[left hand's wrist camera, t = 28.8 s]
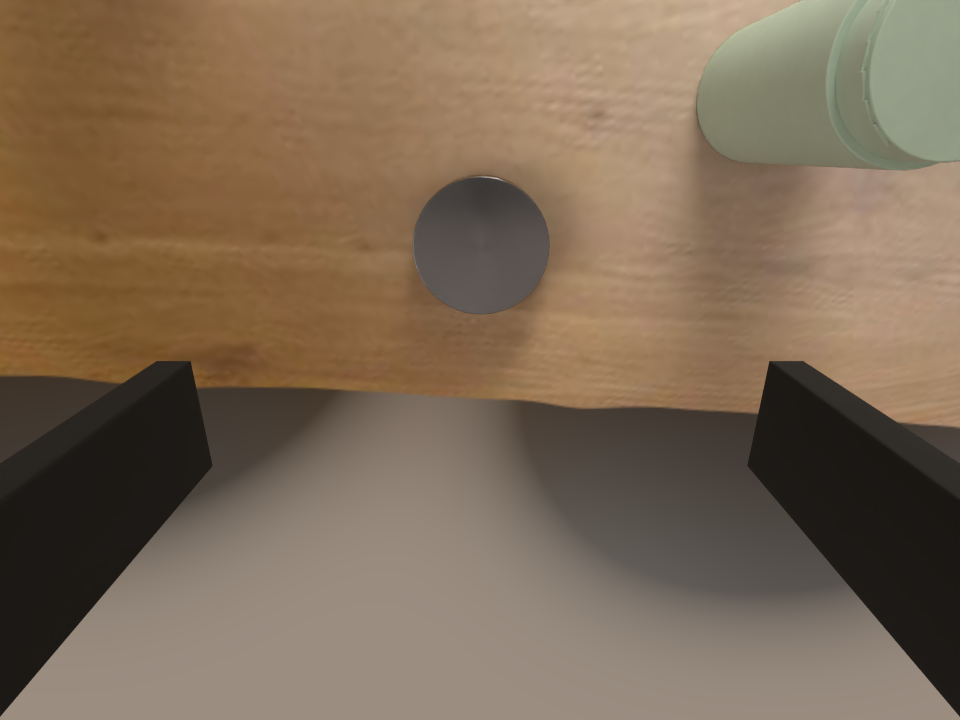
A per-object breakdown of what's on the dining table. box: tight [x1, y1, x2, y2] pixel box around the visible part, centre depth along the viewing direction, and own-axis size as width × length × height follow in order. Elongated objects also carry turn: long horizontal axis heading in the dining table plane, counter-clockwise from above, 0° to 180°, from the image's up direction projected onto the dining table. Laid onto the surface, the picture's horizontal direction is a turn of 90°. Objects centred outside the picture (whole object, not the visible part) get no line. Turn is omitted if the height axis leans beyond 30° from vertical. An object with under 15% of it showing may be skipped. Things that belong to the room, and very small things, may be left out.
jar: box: [697, 0, 960, 170], centre depth 26 cm, size 8×8×16 cm
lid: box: [413, 175, 549, 314], centre depth 36 cm, size 9×9×2 cm
